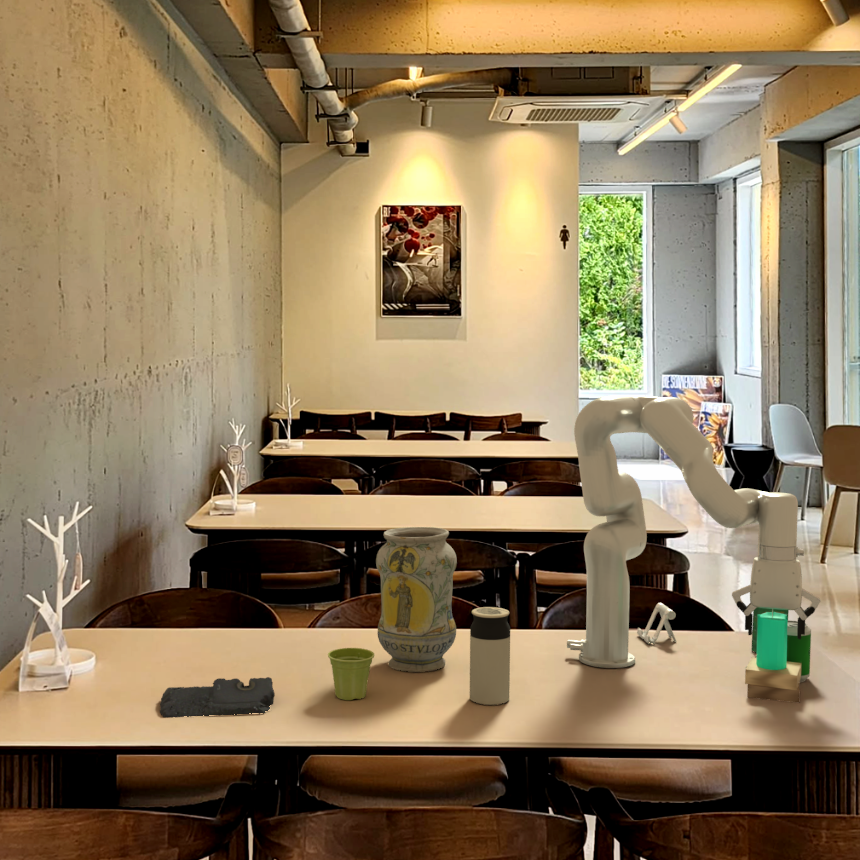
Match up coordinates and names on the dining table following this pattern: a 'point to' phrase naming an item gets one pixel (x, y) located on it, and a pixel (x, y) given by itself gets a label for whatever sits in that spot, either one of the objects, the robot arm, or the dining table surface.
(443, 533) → the vase
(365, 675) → the plant pot
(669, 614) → the portable electronic device stand
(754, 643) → the coffee box
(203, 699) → the dark slate chunk
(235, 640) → the dining table surface
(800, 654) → the soda can
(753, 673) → the oak block
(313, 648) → the dining table surface
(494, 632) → the travel mug
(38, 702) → the dining table surface
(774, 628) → the candle
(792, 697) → the tan flat block
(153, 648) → the dining table surface
